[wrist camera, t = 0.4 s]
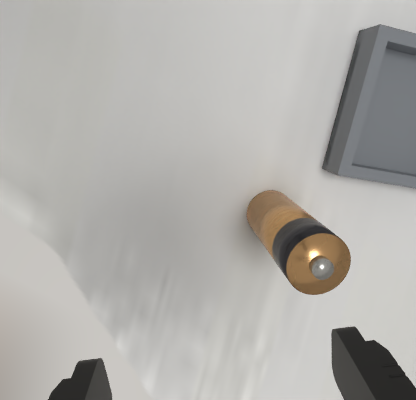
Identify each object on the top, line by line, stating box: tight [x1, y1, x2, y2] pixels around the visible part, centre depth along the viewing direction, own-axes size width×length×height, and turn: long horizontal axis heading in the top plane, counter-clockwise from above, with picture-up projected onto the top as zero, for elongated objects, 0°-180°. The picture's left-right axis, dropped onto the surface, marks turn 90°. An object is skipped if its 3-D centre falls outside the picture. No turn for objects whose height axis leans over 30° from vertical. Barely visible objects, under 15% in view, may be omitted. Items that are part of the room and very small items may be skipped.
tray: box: [322, 24, 416, 188], centre depth 32 cm, size 12×12×3 cm
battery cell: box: [247, 190, 351, 295], centre depth 29 cm, size 4×4×12 cm
